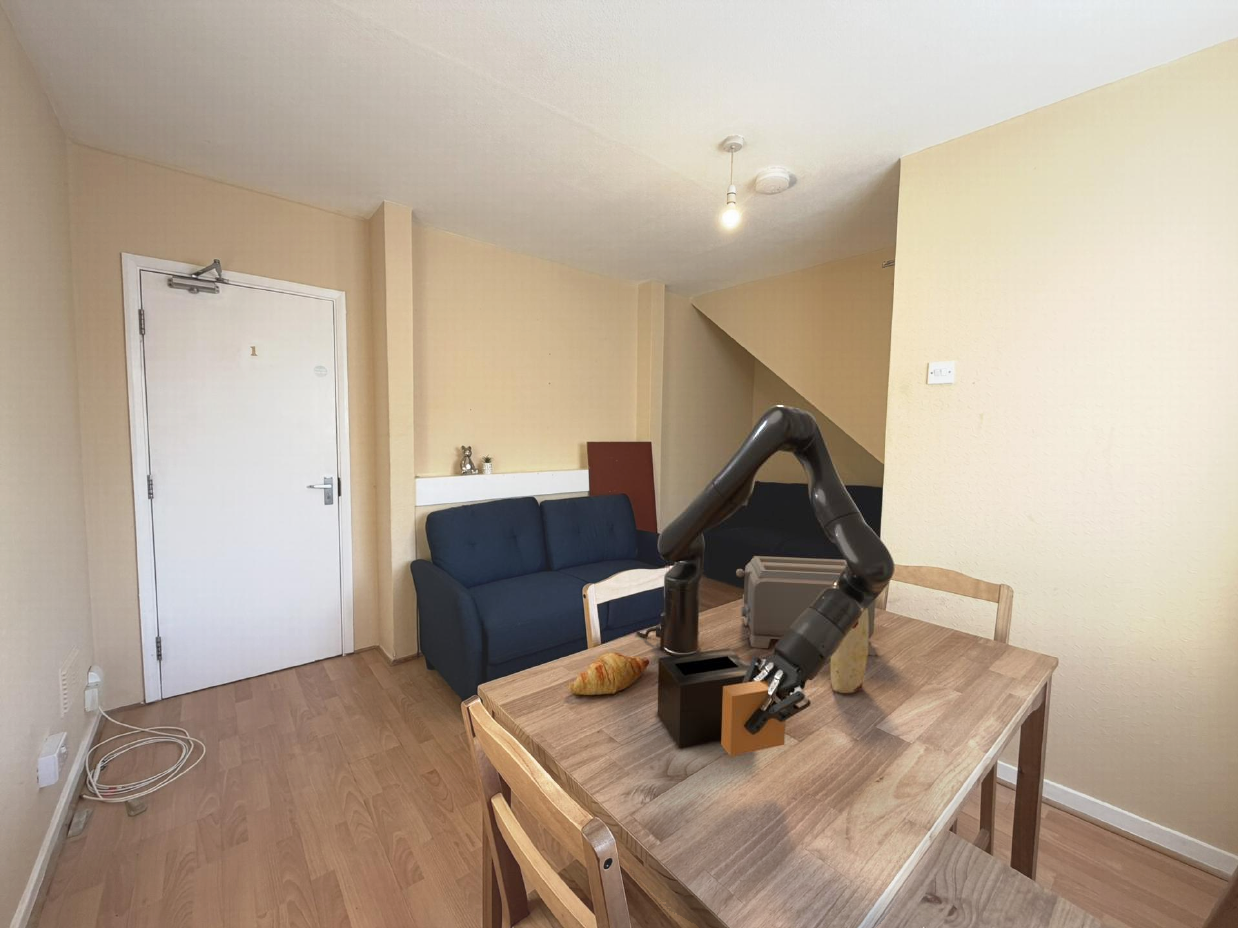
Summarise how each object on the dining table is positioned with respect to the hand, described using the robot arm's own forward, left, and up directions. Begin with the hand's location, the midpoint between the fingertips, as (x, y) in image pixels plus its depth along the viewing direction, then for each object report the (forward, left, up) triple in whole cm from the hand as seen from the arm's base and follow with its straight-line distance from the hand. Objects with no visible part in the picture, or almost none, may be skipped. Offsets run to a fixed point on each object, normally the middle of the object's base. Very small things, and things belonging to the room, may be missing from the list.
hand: (742, 723), depth 79 cm
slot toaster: (-11, +13, -11) cm, 20 cm away
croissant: (-34, +17, -11) cm, 40 cm away
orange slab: (+1, +1, -4) cm, 4 cm away
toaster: (-1, +65, -11) cm, 66 cm away
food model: (+13, +41, -11) cm, 45 cm away
